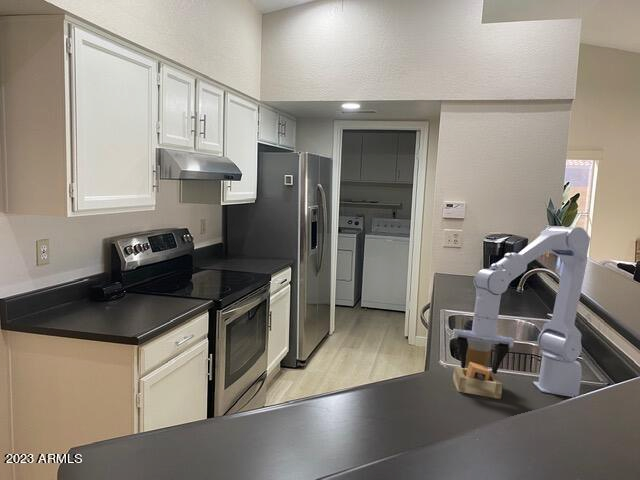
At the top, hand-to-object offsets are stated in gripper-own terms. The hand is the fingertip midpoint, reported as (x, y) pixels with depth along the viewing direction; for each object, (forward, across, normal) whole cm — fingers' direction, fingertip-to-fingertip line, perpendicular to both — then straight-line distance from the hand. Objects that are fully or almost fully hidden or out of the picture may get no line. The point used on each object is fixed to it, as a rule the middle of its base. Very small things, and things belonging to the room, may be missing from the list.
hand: (478, 370), depth 119 cm
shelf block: (+5, 0, 0) cm, 5 cm away
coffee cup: (+5, +1, +10) cm, 12 cm away
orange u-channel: (+4, 0, 0) cm, 4 cm away
